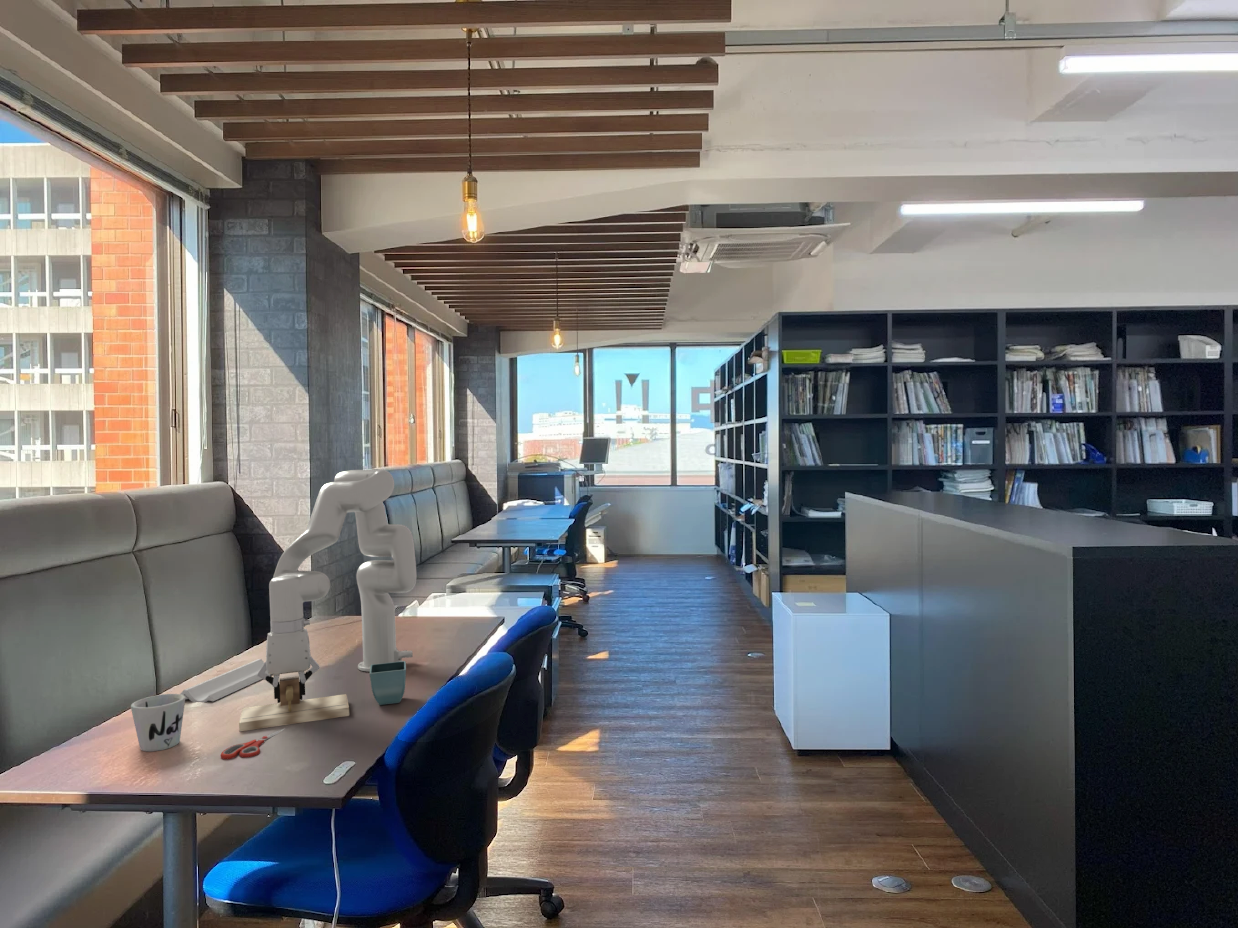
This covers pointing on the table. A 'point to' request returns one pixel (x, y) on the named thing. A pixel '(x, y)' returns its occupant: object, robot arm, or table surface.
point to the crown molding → (225, 683)
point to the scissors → (246, 748)
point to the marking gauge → (289, 691)
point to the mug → (158, 721)
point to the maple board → (293, 712)
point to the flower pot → (388, 682)
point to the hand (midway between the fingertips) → (290, 698)
